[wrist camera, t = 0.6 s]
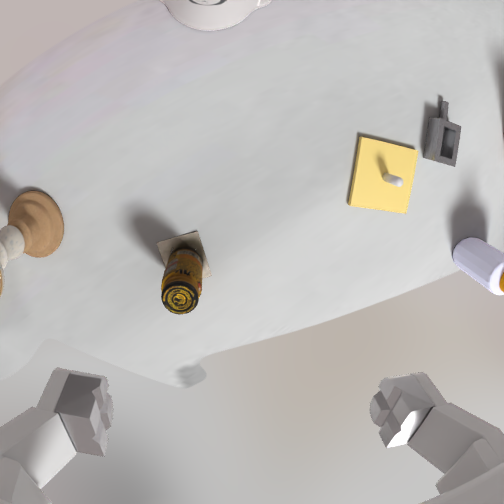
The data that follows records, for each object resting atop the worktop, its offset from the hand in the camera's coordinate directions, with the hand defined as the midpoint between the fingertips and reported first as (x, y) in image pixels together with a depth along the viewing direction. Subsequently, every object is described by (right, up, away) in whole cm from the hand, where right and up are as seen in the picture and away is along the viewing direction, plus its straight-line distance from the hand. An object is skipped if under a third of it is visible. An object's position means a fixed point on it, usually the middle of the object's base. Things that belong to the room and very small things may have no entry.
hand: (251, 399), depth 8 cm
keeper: (+23, +18, +44) cm, 53 cm away
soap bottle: (+50, +4, +54) cm, 74 cm away
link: (+35, +27, +42) cm, 61 cm away
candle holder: (-38, +9, +40) cm, 56 cm away
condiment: (-11, +3, +46) cm, 48 cm away
